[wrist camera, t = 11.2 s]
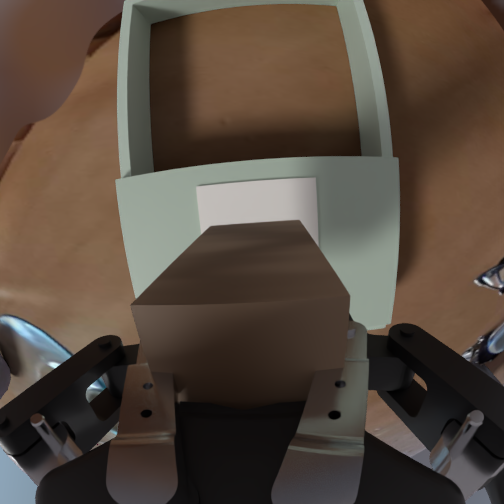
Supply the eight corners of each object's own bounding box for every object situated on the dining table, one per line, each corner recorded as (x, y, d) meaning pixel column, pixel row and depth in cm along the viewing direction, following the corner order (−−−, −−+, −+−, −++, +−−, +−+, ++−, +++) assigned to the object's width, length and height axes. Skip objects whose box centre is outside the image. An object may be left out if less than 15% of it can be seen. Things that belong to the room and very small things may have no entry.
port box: (343, 0, 19) (357, -30, 13) (369, 304, 28) (389, 334, 22) (142, 20, 20) (119, -5, 14) (168, 315, 29) (147, 346, 23)
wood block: (299, 219, 14) (350, 295, 5) (302, 339, 16) (323, 471, 7) (210, 225, 14) (130, 305, 5) (225, 342, 16) (195, 472, 7)
